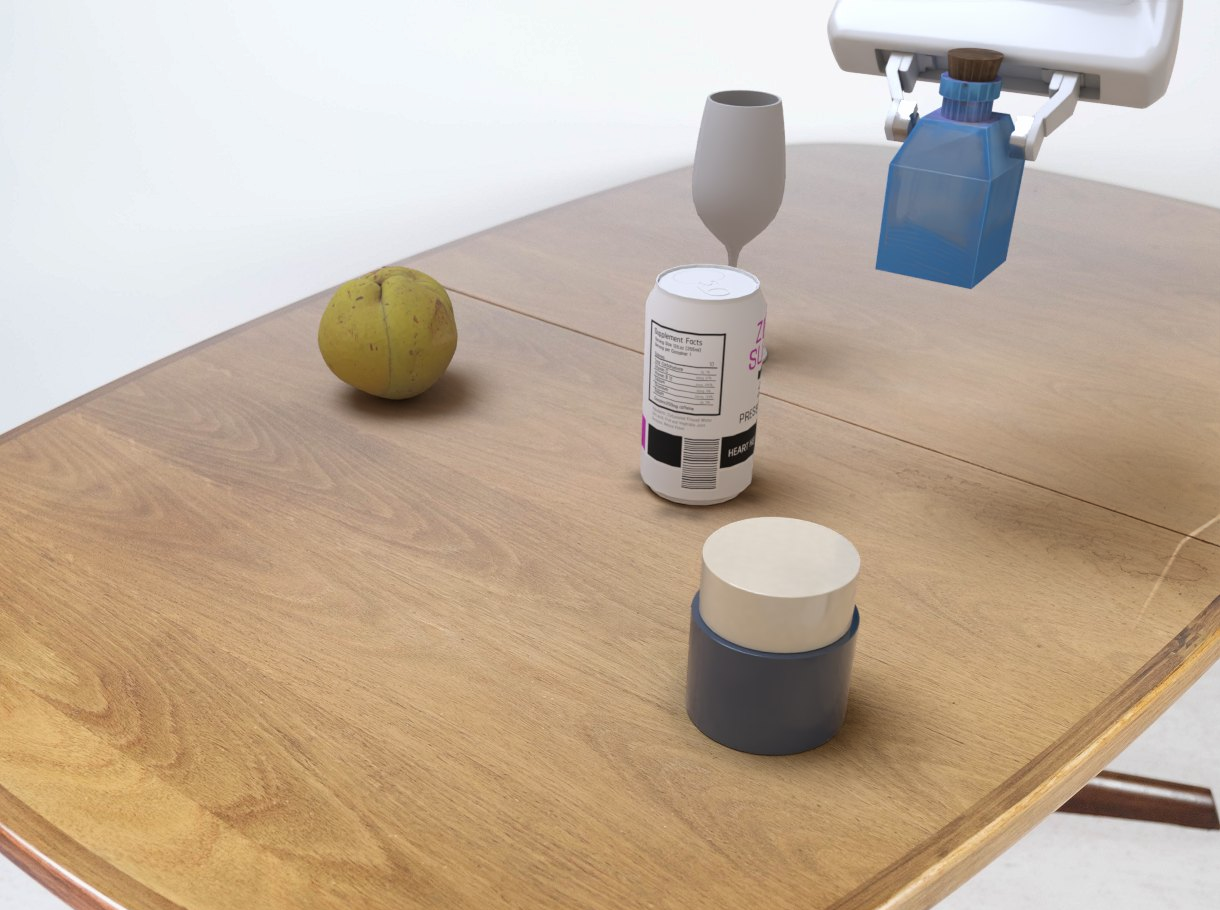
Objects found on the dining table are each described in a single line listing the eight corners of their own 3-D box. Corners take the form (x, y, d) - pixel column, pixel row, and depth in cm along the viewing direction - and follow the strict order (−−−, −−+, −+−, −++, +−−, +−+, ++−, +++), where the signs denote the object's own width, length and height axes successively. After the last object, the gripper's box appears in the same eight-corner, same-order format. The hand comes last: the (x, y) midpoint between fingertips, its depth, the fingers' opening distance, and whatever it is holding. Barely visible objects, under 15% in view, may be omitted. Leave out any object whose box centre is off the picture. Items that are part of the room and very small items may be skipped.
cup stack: (852, 672, 79) (875, 524, 73) (836, 767, 72) (860, 612, 66) (701, 650, 81) (711, 503, 75) (670, 740, 74) (679, 586, 68)
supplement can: (624, 467, 100) (628, 268, 91) (723, 451, 103) (738, 255, 94) (665, 517, 94) (674, 309, 85) (770, 498, 97) (790, 294, 88)
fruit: (493, 395, 110) (488, 275, 104) (375, 436, 104) (363, 310, 98) (413, 355, 117) (404, 239, 111) (298, 391, 110) (282, 270, 104)
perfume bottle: (1006, 260, 84) (1046, 51, 76) (971, 289, 80) (1010, 70, 72) (913, 242, 86) (944, 38, 79) (875, 269, 82) (903, 56, 75)
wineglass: (784, 363, 117) (809, 105, 104) (705, 375, 114) (721, 113, 101) (745, 332, 122) (765, 84, 109) (669, 343, 120) (681, 91, 107)
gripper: (862, -119, 80) (783, 89, 79) (1218, -94, 72) (1135, 136, 71) (877, -43, 86) (804, 151, 85) (1209, -13, 78) (1132, 201, 77)
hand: (958, 145), depth 78 cm, fingers closed on perfume bottle, 6 cm apart
